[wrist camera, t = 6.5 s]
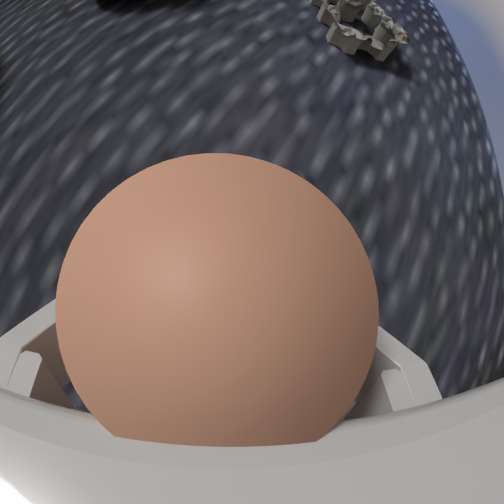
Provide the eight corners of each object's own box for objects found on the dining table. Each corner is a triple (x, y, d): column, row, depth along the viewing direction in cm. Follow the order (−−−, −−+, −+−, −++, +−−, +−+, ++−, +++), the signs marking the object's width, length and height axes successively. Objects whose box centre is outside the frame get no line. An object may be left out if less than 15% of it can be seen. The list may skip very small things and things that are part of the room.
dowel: (266, 316, 16) (422, 342, 4) (198, 365, 15) (190, 516, 3) (218, 247, 16) (259, 106, 4) (148, 295, 15) (9, 269, 3)
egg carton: (393, 69, 23) (415, 44, 19) (322, 52, 21) (339, 20, 17) (364, 8, 24) (377, -15, 20) (302, -7, 23) (313, -34, 19)
